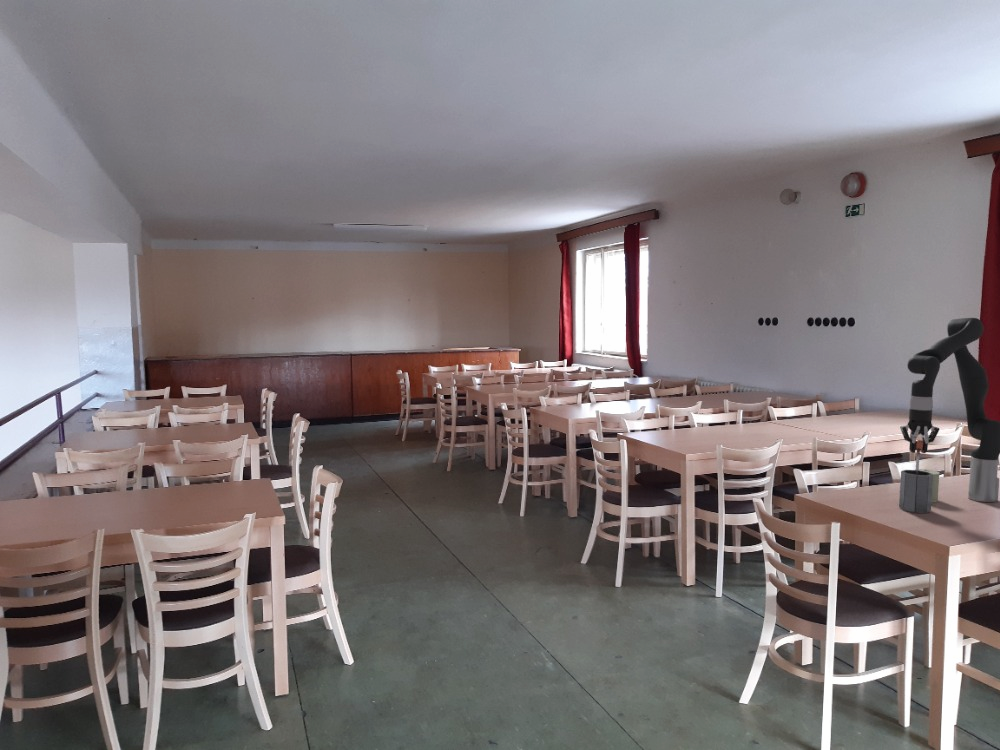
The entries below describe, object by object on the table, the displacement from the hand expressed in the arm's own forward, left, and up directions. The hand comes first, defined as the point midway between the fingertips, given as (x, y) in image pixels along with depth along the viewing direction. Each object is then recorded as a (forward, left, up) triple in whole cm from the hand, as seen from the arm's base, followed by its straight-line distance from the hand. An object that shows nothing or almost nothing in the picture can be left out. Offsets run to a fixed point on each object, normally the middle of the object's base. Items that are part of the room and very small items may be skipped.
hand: (918, 452), depth 276 cm
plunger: (0, 0, -16) cm, 16 cm away
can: (-11, -17, -23) cm, 30 cm away
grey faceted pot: (0, -1, -22) cm, 22 cm away
